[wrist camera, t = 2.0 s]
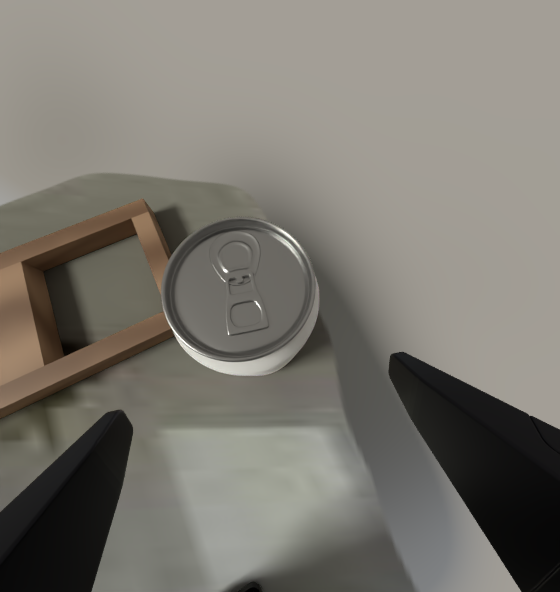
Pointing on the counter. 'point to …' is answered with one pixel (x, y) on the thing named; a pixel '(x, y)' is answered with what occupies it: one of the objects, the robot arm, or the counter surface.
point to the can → (241, 296)
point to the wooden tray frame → (40, 318)
